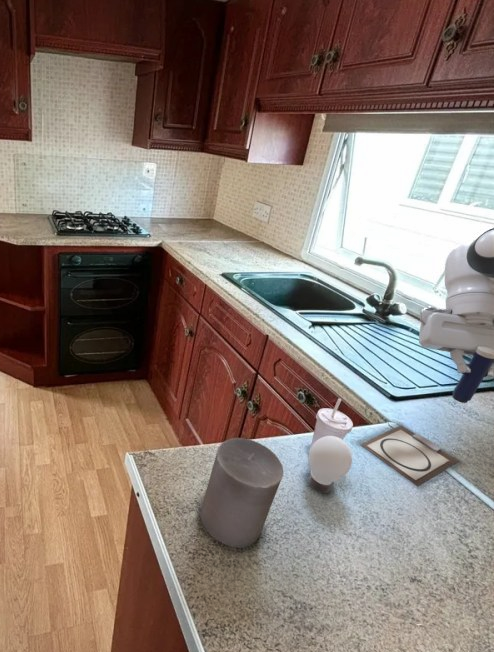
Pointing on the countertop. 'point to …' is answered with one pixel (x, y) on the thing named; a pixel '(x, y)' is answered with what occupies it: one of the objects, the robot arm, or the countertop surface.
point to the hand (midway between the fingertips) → (476, 375)
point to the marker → (474, 374)
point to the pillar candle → (240, 492)
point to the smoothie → (331, 423)
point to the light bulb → (328, 462)
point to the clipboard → (409, 454)
